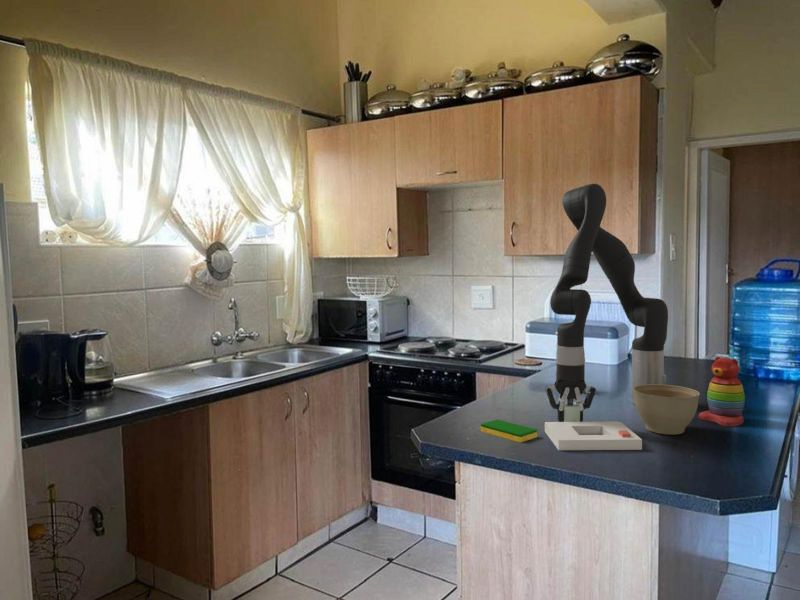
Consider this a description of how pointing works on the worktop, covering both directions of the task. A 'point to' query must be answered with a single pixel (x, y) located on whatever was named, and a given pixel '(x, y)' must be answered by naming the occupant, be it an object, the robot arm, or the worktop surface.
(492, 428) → the dish sponge
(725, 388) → the stacking bear
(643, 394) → the planter bowl
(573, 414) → the plug
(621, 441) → the socket plate
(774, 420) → the worktop surface
